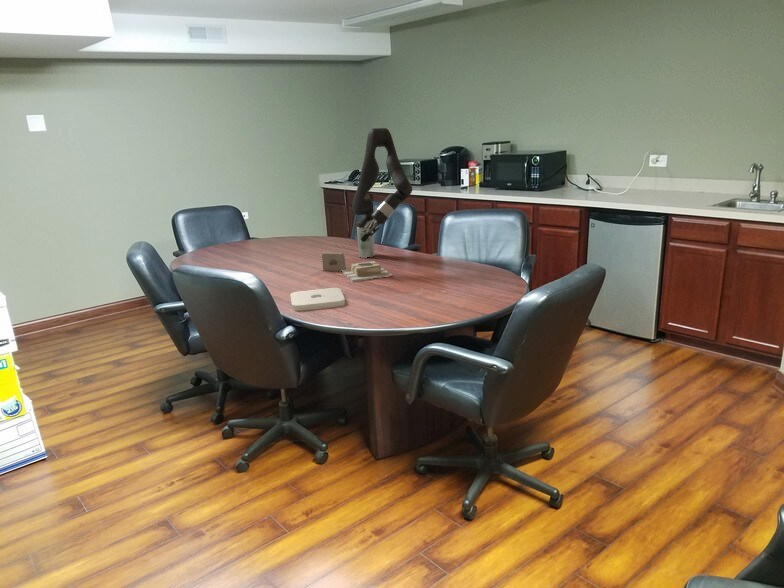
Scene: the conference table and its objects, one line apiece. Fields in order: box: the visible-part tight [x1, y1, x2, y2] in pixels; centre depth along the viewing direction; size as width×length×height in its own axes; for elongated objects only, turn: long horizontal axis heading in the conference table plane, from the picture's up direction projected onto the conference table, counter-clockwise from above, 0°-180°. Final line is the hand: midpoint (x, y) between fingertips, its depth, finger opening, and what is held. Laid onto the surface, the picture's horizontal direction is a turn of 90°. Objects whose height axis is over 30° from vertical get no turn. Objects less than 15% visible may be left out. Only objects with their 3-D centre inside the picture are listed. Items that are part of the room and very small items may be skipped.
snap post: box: [357, 230, 370, 249], centre depth 285 cm, size 4×4×9 cm
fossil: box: [321, 251, 347, 272], centre depth 300 cm, size 12×4×10 cm, turn 70°
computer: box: [290, 287, 346, 312], centre depth 249 cm, size 22×22×3 cm
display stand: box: [341, 260, 393, 283], centre depth 289 cm, size 22×20×5 cm
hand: (361, 239), depth 285 cm, fingers closed on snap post, 4 cm apart
